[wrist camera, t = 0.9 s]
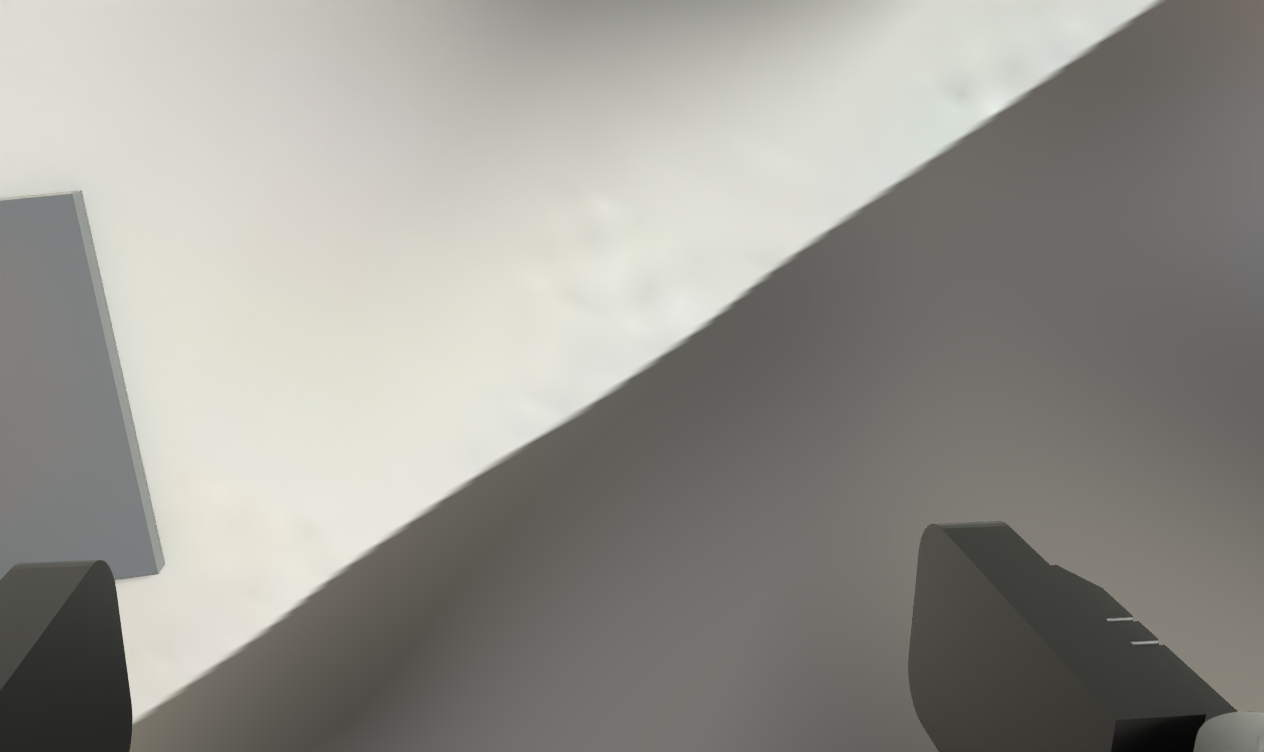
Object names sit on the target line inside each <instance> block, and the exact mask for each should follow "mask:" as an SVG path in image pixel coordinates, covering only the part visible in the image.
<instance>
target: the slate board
mask: <svg viewBox="0 0 1264 752" xmlns="http://www.w3.org/2000/svg"><path fill="white" fill-rule="evenodd" d="M87 560H103V561H105V562H106V563H107V564H108V565H109V567H110V569H111V571H112V574H113V577H114V580H116V579H124V578H132V577H139V576H147V575H155V574H159V572H160V571H161V569H162V568H163V566H164V565H165V562H164V557H163V553H162V548H161V544H160V539H159V535H158V530H157V526H156V522H155V517H154V513H153V508H152V504H151V499H150V495H149V490H148V486H147V481H146V477H145V472H144V468H143V463H142V459H141V454H140V450H139V445H138V441H137V437H136V432H135V428H134V423H133V419H132V414H131V410H130V405H129V401H128V396H127V392H126V387H125V383H124V378H123V374H122V369H121V365H120V361H119V356H118V352H117V347H116V343H115V338H114V334H113V329H112V325H111V320H110V316H109V311H108V307H107V302H106V298H105V293H104V289H103V284H102V280H101V276H100V271H99V267H98V262H97V258H96V253H95V249H94V244H93V240H92V235H91V231H90V226H89V222H88V217H87V213H86V208H85V204H84V200H83V195H82V191H72V192H62V193H52V194H42V195H32V196H21V197H11V198H1V199H0V580H1V579H2V578H3V577H4V576H5V575H6V573H7V572H8V571H9V570H10V569H11V568H12V567H13V566H14V565H16V564H18V563H38V562H63V561H87Z"/></svg>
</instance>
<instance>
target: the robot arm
mask: <svg viewBox="0 0 1264 752" xmlns="http://www.w3.org/2000/svg"><path fill="white" fill-rule="evenodd" d="M908 673H909V683H910V691H911V695H912V700H913V704H914V707H915V710H916V713H917V715H918V718H919V720H920V722H921V724H922V725H923V727H924V729H925V730H926V732H927V733H928V735H929V737H930V738H931V740H932V741H933V743H934V745H935V746H936V748H937V749H938V751H939V752H1264V712H1251V711H1250V712H1238V711H1237V710H1235V709H1234V708H1233V707H1232V706H1231V705H1230V704H1229V703H1228V702H1227V701H1226V700H1224V699H1223V698H1222V697H1221V696H1220V695H1219V694H1218V693H1217V692H1216V691H1215V690H1214V689H1212V688H1211V687H1210V686H1209V685H1208V684H1207V683H1206V682H1205V681H1204V680H1203V679H1201V678H1200V677H1199V676H1198V675H1197V674H1196V673H1195V672H1194V671H1193V670H1191V669H1190V668H1189V667H1188V666H1187V665H1186V664H1185V663H1184V662H1183V661H1182V660H1181V659H1179V658H1178V657H1177V656H1176V655H1175V654H1174V653H1173V652H1172V651H1171V650H1170V649H1169V648H1167V647H1166V646H1165V645H1159V644H1158V638H1156V637H1155V636H1154V635H1153V634H1152V633H1151V632H1150V631H1149V630H1148V629H1147V628H1145V627H1144V626H1143V625H1142V624H1141V623H1140V622H1139V621H1137V622H1133V616H1132V615H1131V614H1130V613H1129V612H1128V611H1127V610H1126V609H1125V608H1124V607H1122V606H1121V605H1120V604H1119V603H1118V602H1117V601H1116V600H1114V598H1113V597H1111V596H1110V595H1109V594H1108V593H1107V592H1106V591H1105V590H1104V589H1103V588H1101V587H1099V586H1097V585H1095V584H1093V583H1091V582H1089V581H1087V580H1085V579H1083V578H1081V577H1079V576H1077V575H1075V574H1073V573H1071V572H1069V571H1067V570H1065V569H1063V568H1062V567H1059V566H1057V565H1049V564H1048V563H1047V562H1046V561H1045V560H1044V559H1043V558H1042V557H1041V556H1040V555H1039V554H1038V553H1036V551H1034V549H1032V548H1031V547H1030V546H1029V545H1028V544H1027V543H1026V542H1025V541H1024V540H1023V539H1022V538H1021V537H1020V536H1019V535H1018V534H1017V533H1016V532H1014V530H1013V529H1012V528H1010V527H1009V526H1008V525H1007V524H1006V523H1004V522H1001V521H994V522H971V523H945V524H931V525H929V526H928V527H927V528H926V529H925V531H924V533H923V535H922V538H921V542H920V547H919V556H918V565H917V576H916V587H915V597H914V607H913V617H912V629H911V638H910V649H909V662H908ZM131 736H132V705H131V697H130V689H129V682H128V674H127V667H126V659H125V652H124V644H123V637H122V630H121V622H120V615H119V607H118V600H117V592H116V586H115V581H114V577H113V574H112V571H111V569H110V567H109V565H108V564H107V563H106V562H105V561H103V560H87V561H63V562H38V563H18V564H16V565H14V566H13V567H12V568H11V569H10V570H9V571H8V572H7V573H6V575H5V576H4V577H3V578H2V579H1V580H0V752H129V750H130V744H131Z"/></svg>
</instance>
